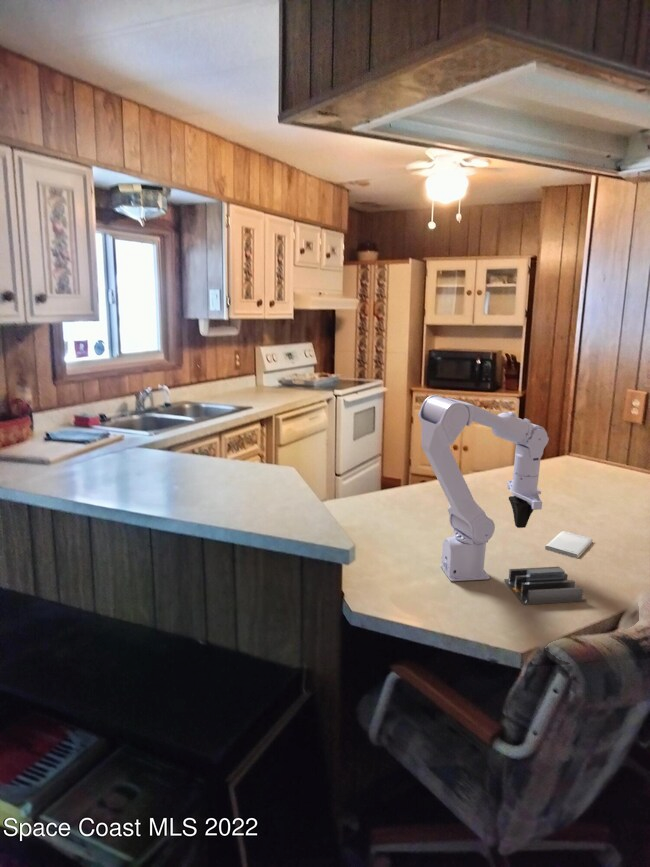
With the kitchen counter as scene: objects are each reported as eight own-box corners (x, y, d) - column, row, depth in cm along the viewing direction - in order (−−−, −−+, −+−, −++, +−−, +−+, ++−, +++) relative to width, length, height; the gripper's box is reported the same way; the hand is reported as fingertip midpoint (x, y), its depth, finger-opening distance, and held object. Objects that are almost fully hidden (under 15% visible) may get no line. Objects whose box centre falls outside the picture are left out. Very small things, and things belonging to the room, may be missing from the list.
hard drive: (577, 554, 151) (592, 538, 161) (545, 545, 156) (561, 529, 166) (577, 560, 152) (592, 544, 161) (544, 551, 157) (560, 535, 166)
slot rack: (524, 604, 130) (525, 592, 129) (504, 581, 140) (505, 569, 139) (585, 601, 132) (587, 588, 131) (561, 578, 142) (563, 566, 141)
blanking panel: (558, 586, 137) (561, 568, 136) (562, 589, 135) (564, 571, 134) (525, 588, 136) (527, 569, 135) (528, 591, 134) (530, 573, 133)
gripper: (557, 482, 137) (550, 538, 140) (528, 463, 151) (522, 514, 154) (527, 483, 136) (521, 539, 139) (501, 464, 150) (496, 515, 153)
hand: (520, 526), depth 147 cm, fingers closed
